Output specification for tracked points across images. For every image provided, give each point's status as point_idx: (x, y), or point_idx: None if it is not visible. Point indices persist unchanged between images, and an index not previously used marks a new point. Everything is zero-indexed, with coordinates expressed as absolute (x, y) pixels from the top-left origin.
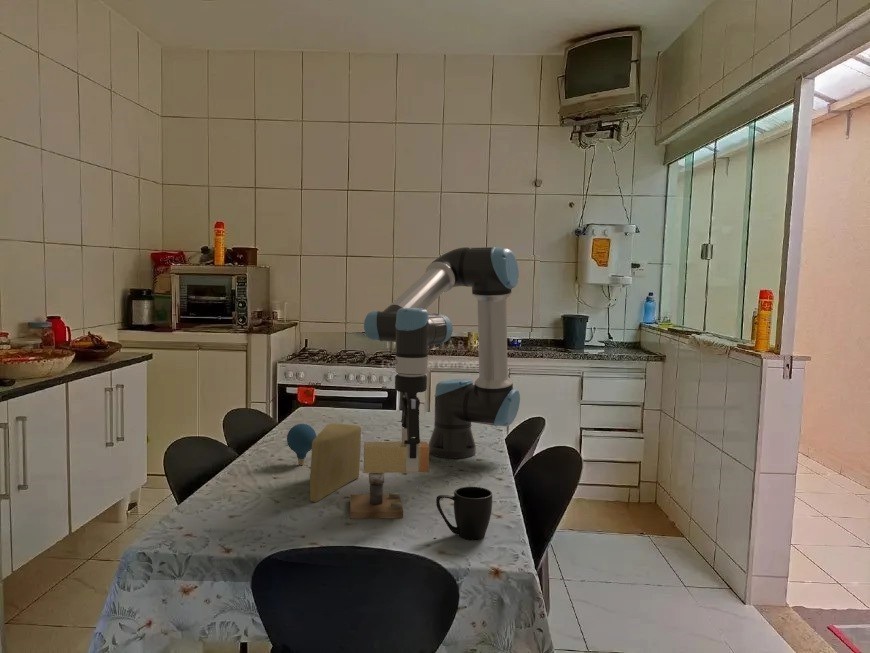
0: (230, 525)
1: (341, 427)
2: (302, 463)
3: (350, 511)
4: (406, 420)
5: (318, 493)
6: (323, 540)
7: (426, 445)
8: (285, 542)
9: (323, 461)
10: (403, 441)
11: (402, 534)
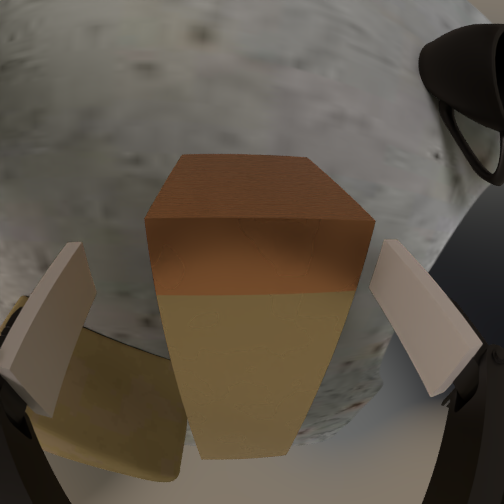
0: None
1: None
2: None
3: None
4: (46, 478)
5: None
6: (374, 340)
7: (313, 239)
8: (359, 373)
9: (163, 430)
10: (70, 341)
11: (402, 220)
